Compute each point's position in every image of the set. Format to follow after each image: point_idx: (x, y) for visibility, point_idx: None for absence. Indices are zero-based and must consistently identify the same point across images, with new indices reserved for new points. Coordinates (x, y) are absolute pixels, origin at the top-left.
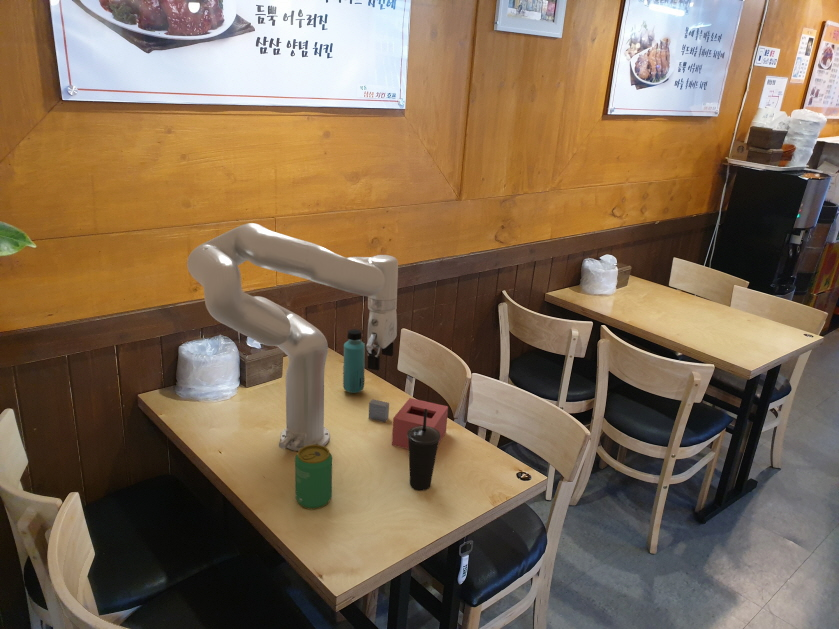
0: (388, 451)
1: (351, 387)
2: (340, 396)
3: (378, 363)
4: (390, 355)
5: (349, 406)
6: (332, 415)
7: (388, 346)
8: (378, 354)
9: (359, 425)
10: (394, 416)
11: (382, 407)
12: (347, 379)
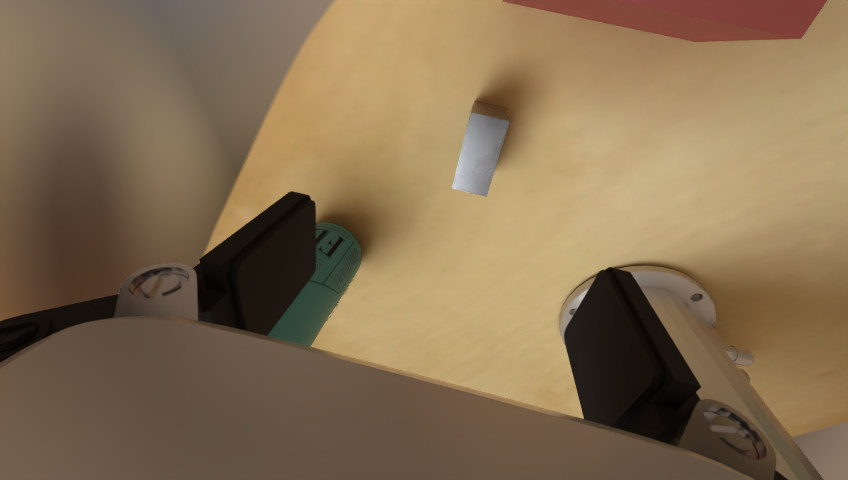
0: (751, 46)
1: (356, 261)
2: (374, 270)
3: (653, 319)
4: (313, 211)
5: (423, 240)
6: (487, 274)
7: (267, 278)
8: (706, 423)
9: (538, 193)
10: (779, 34)
11: (504, 135)
12: (345, 289)
